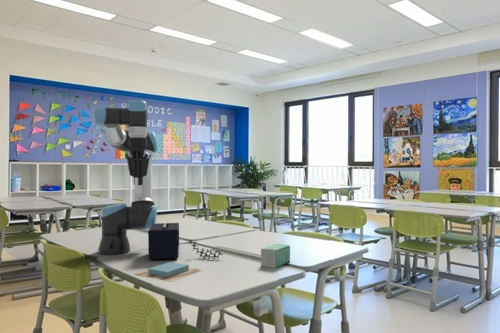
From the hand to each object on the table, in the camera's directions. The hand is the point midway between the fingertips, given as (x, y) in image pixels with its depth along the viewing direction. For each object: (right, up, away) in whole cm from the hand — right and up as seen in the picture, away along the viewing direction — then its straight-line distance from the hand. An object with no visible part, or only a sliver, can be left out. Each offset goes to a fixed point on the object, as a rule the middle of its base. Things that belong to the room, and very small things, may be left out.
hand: (138, 192), depth 164 cm
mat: (+16, -31, -13) cm, 37 cm away
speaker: (+8, -31, +16) cm, 36 cm away
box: (+59, -31, +1) cm, 66 cm away
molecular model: (+28, -31, +11) cm, 43 cm away
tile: (+11, -29, -11) cm, 33 cm away
